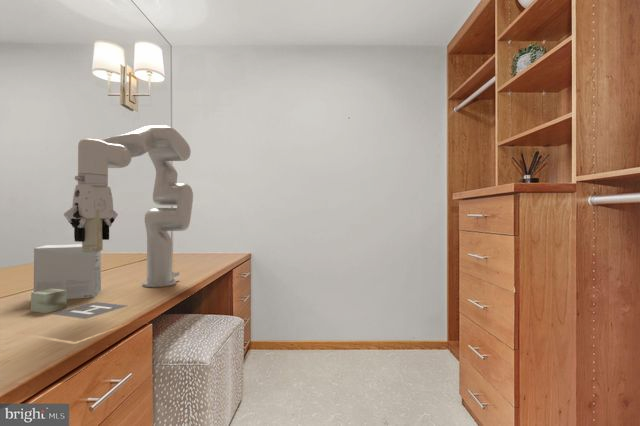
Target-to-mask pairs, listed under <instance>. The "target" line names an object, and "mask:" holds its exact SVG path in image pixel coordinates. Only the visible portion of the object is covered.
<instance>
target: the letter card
mask: <svg viewBox="0 0 640 426" xmlns="http://www.w3.org/2000/svg"><path fill="white" fill-rule="evenodd" d="M125 307H127V304H117V303H107V302H98V301H96V302H93V303H88V304H85V305H80V306H77V307H73V308H69V309H65V310H62V311H58V312H53V313H52V315H55V316H64V317H72V318H76V319H77V318H78V319H84V320H87V319H89V318H92V317H95V316H99V315H104V314H105V313H109V312H113V311H115V310H118V309H122V308H123V309H124V308H125Z"/></svg>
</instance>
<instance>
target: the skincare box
mask: <svg viewBox="0 0 640 426" xmlns="http://www.w3.org/2000/svg"><path fill="white" fill-rule="evenodd" d="M83 228H85V241H84V242H81V244H82V252H99V251H101V252H102V251H103V247H104V246H103V245H104V243H103V241H104V240H103V235H102V219H100V211H96V213H95V218H94V219H87V220H86V222H85V223H84V225H83Z"/></svg>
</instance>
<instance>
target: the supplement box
mask: <svg viewBox="0 0 640 426" xmlns="http://www.w3.org/2000/svg"><path fill="white" fill-rule="evenodd" d="M101 252H102V250H101V251H99V252H82V243H78V244H77V243H75V244H74V243H71V244H45V245H42V246H37V247H34V248H33V292H38V291H43V290H48V289H61V290H67V300H71V299H72V300H73V299H74V300H75V299H83V298H84V299H85V298H86V299H87V298H95V297H97V296H98V294H99V293H100V292H101V291H102V277H101V272H102V271H101V270H102V268H101V267H102V265H101V263H102V262H101V261H102V256H101V255H102V254H101Z"/></svg>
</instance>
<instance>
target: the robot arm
mask: <svg viewBox="0 0 640 426" xmlns="http://www.w3.org/2000/svg"><path fill="white" fill-rule="evenodd" d="M146 153H147V154H148V156H149V158H150V160H151V161H152V164H153V167H154V169H155V177H154V178H155V179H154V185H153V192H152V200H153V201H152V202H154V204H156V205H157V206H161V207H154V208H150V209H149V210H147V211H146V213H145V215H144V223H145V231H146V248H147V249H146V280H145V281H143V282H142V287H145V288H162V287H169V286H173V285H175V284H177V280H176V279H175V277H179V276H180V272H179V271H173V240H172V237H171V235H170V234H169V232H183V231H186V230H187V229H189V226H190V223H191V218H192V217H191V216H192V212H193V211H192V209H193V201H194V192H193V189H192V187H191V185H189V184H187V183H184V182H183V183H181V182H180V183H179V182H178V177H179V176H178V172H177V170H176V167H174V166H173V164H172V163H171V162H184V161H187V160H188V159H189V158H190V156H191V147H190V145H189V143H188V142H187V140H186V139H185V138H184V137H183V135H181V134H180V132H178V131H177V130H176V129H175V128H174V127H171V126H168V125H147V126H143V127H141V128H138V129H136V130H134V131H133V130H132V131H131V132H127V133H125V134H120V135H115V136H110V137H106V138H100V139H92V138H83V139H80V140H79V142H78V145H77V175H75V176H74V180H75V181H77V184H76V185H75V187H74V191H73V197H72V198H73V199H72V207H71V208H69V209H68V210H67V211H65V212H64V213H63V216H64V217H65V218H66V220H67V221H68V223H69V224H70V225H71V227H72V228H74V231H73V237H74V242H79V243H80V242H81V243H82V242H84V241H85V228H83V225H84V223H85V222H86V220H87V219H94V218H95V213H96V211H100V219H102V235H103V241H108V240H110V227H112V224H113V223H114V222H115V219H116V218H117V217H118V212H116V211H115V210H114V203H113V194H112V189H111V187H110V186H108V185H109V184H108V183H109V169H122V168H126V167H128V166H129V165H130V164H131V161H132V158H136V157H141V156H143V155H144V154H146ZM162 206H167V207H162ZM168 206H169V207H168Z"/></svg>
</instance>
